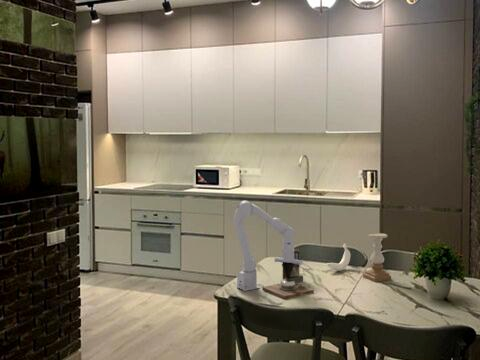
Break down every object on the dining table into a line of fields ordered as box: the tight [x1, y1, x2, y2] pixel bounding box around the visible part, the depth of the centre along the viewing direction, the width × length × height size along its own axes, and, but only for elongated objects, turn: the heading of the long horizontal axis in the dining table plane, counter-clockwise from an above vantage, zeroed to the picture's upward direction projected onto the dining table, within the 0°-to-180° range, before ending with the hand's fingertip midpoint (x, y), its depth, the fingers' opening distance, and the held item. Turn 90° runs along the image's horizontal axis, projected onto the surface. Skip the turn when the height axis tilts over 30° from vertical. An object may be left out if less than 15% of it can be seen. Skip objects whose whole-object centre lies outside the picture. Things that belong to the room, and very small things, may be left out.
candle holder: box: [362, 232, 392, 283], centre depth 279 cm, size 11×11×24 cm
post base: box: [262, 282, 315, 300], centre depth 258 cm, size 18×18×2 cm
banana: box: [326, 242, 351, 272], centre depth 296 cm, size 5×19×15 cm, turn 136°
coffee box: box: [281, 248, 300, 280], centre depth 279 cm, size 9×6×16 cm
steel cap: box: [280, 274, 304, 288], centre depth 259 cm, size 12×7×4 cm, turn 124°
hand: (288, 277), depth 264 cm, fingers closed
